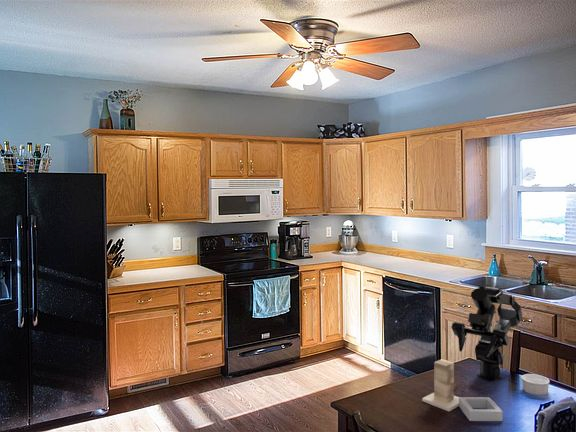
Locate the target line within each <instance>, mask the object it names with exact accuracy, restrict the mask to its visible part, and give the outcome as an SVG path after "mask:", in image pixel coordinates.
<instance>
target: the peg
mask: <svg viewBox="0 0 576 432" xmlns="http://www.w3.org/2000/svg"><path fill="white" fill-rule="evenodd" d="M433 364H434V367H433V369H434V371H433V373H434V374H433V383H434V384H433V386H434V387H433V389H434V390H433V391H434V392H433V393H434V399H437V400H439V401H442V402H444V403H447V402H449V401H451V400H453V399H454V396H455V394H454V393H455V389H454V380H455V374H454V373H455V362H453V361H449V360H446V359H443V358H441V359H439V360H436V361H434V363H433Z"/></svg>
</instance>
